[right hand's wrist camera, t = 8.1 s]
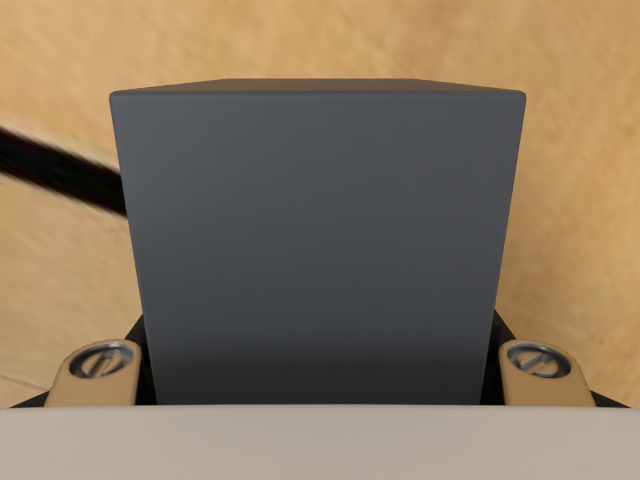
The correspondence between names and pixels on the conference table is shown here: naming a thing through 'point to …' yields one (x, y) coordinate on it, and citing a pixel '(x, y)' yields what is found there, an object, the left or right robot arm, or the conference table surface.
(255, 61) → the conference table surface
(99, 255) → the conference table surface
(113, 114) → the bar
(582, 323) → the conference table surface
